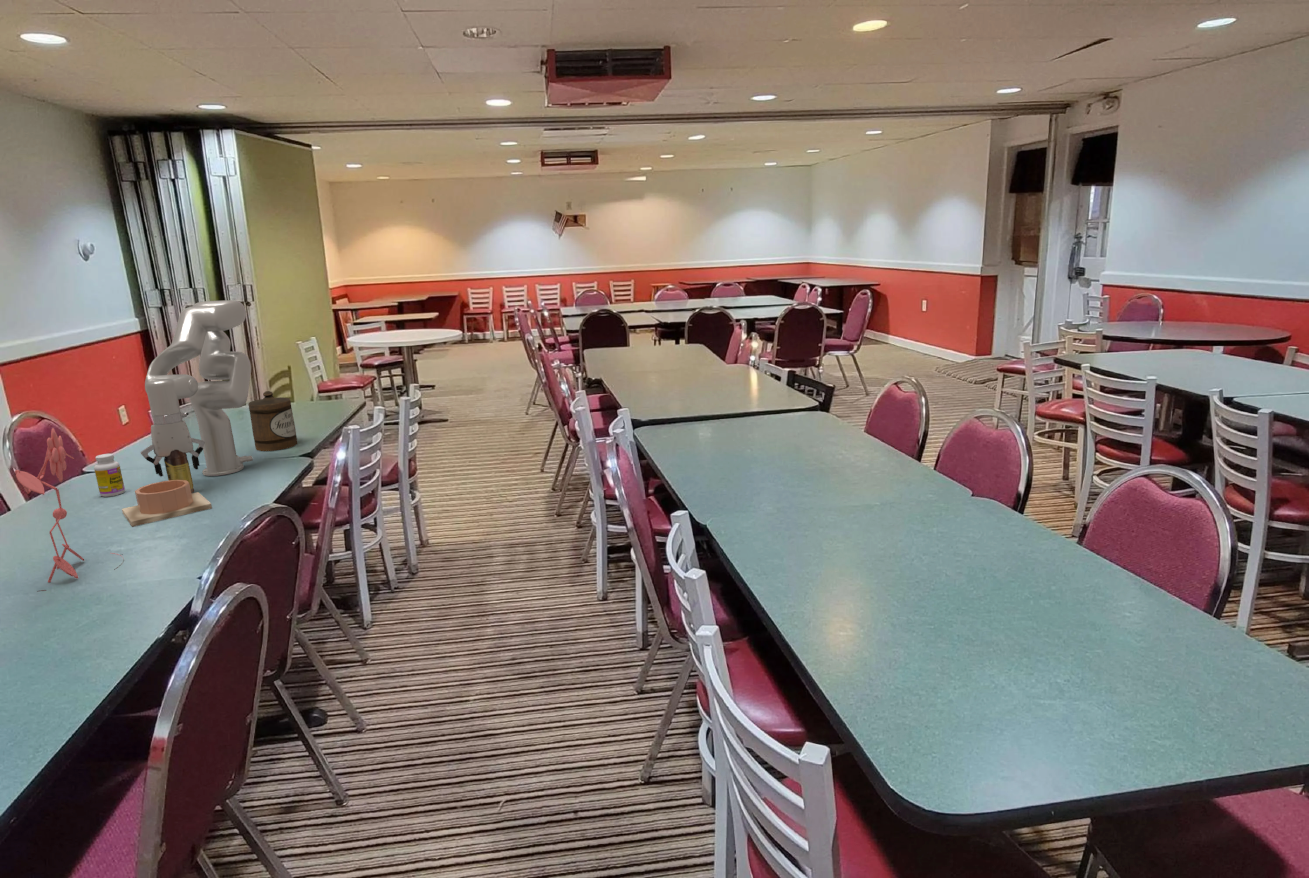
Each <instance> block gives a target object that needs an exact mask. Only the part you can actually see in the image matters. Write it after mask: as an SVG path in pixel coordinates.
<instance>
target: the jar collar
mask: <svg viewBox="0 0 1309 878" xmlns="http://www.w3.org/2000/svg"><path fill="white" fill-rule="evenodd" d="M134 495H135V499H136V502H137V505H138V508H139V511H140V512H141V513H142V514H158V513H166V512H170V511H175V510H179V509H181V508H184V507H187V506H189V505H190V504H191V503H192V502H193V498H192V493H191V488H190V484H189V482H188V481H187V480H162V481H158V482H153V483H150V484H146V485H143V486H141V487H140V486H139V488H137V489H135V490H134Z"/></svg>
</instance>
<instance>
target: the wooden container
mask: <svg viewBox="0 0 1309 878" xmlns="http://www.w3.org/2000/svg"><path fill="white" fill-rule="evenodd" d="M262 395H263V398H261V399H257V400H253V401H250V402H248V411H249V416H250V423H251V429H252V436H253V440H254V447H255V450H256V451H257V452H258V451H259V452H274V451H277V452H278V451H282V450H286V449H290V448H294V447H295V446H296V445H297V446H298V437H297V431H296V424H295V419H294V414H293V409H292V402H291V401H292V400H291V398H290V397H286V396H285V397H284V396H283V397H274V396H273V391H271V390H268V391H267V390H266V391H264V392H263V394H262Z"/></svg>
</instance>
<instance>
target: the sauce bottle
mask: <svg viewBox="0 0 1309 878" xmlns="http://www.w3.org/2000/svg"><path fill="white" fill-rule="evenodd" d="M172 438H173V437H172ZM163 462H164V466H165V470H166V475H167V481H169V480H187V481H188V482H189V484H190V488H191V493H195V489H194V487H195V486H194V481H193V477H192V473H191V468H190V463H189V460H188V456H187V453H183V452H181V451H179V450H173V451H171V452H170V455H169V456H168V457H163Z"/></svg>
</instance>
